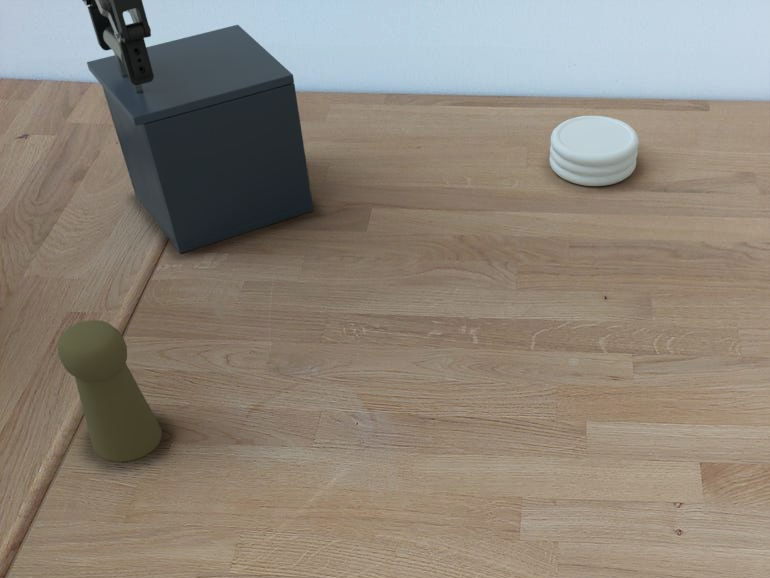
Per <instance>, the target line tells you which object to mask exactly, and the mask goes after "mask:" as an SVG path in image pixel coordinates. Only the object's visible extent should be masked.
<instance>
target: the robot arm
mask: <svg viewBox="0 0 770 578" xmlns="http://www.w3.org/2000/svg"><path fill="white" fill-rule="evenodd" d="M81 1H82V2H83V3H84V5H85V6H87V10H88V13H89V17H90V20H91V24H92V27H93V31H94V33H95V36H96V40H97V43H98V45H99V47H100V48H101V49H102V50H103V51H110V50H111V51H112V49H111V48H110V47H109V46H108V45H107V44H106V42H105V41H104V38H103V33H104V31H105V29H106V28H107V27H109V26H112V28H113V30H114V34H115V37H116V39H117V40H118V43H119V47H120V50H121V54H122V57H123V61H124V64H125V68H126V71H127V75H128V78H129V80H130V81H131V82H132V84H134V85H140V84H144V83H148V82H151V81H152V80H153V78H154V75H153V71H152V67H151V63H150V60H149V56H148V52H147V48H146V47H147V45H146V40H145V39H146V38H147V39H148V38H150V37H151V36H152V33H151V32H152V30H151V27H150V25H149V21H148V17H147V13H146V9H145V7H144V3H143V0H81ZM124 12H127V13H129V16H130V18H131V21H132V23H129V24H126V21H125V17H124Z"/></svg>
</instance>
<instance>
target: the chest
mask: <svg viewBox="0 0 770 578" xmlns="http://www.w3.org/2000/svg"><path fill="white" fill-rule="evenodd" d="M101 86H102V85H101ZM102 91H103V93H104V97H105V100H106V103H107V107H108V109H109V110H108V111H109V113H110V117H111V119H112V123H113V127H114V129H115V132H116V136H117V139H118V142H119V147H120V150H121V152H122V156H123V159H124V162H125V166H126V169H127V172H128V175H129V178H130V182H131V186H132V189H133V192H134V195H135V197H136V198H137V199H138V201H139V202H140V203H141V205H143V207H144V209H146V211H147V213H148V214H149V215H150V217H151V218H152V219H153V220H154V221H155V223H156V225H158V227H159V228H160V229H161V230H162V232H163V233H164V235H165V236H166V237H167V238H168V240H169V241H170V242H171V244H172V245H173V246H174V248H175V249H176V250H177V252H178V253H179V254H183V253H187V252H189V251H192V250H196V249H199V248H202V247H206V246H208V245H211V244H214V243H217V242H221V241H223V240H227V239H230V238H233V237H236V236H239V235H243V234H245V233H249V232H252V231H255V230H258V229H261V228H264V227H267V226H270V225H273V224H277V223H281V222H282V221H286V220H290V219H292V218H295V217H299V216H302V215H305V214H307V213H311V212H313V211H314V205H313V197H312V190H311V184H310V178H309V171H308V165H307V158H306V152H305V151H306V150H305V144H304V138H303V131H302V127H301V126H302V124H301V117H300V112H299V111H300V110H299V105H298V98H297V91H296V86H295V82H294V83H291V84H288V85H284V86H281V87H277V88H273V89H270V90H266V91H262V92H259V93H255V94H251V95H248V96H244V97H240V98H237V99H233V100H229V101H226V102H222V103H218V104H215V105H211V106H208V107H204V108H200V109H197V110H193V111H189V112H186V113H182V114H178V115H175V116H171V117H167V118H164V119H160V120H156V121H153V122H149V123H146V124H142V125H138V126H135V125H134V123H133V122H132V121H131V120H130V119H129V117H128V116H127V115H126V114H125V113H124V111H123V110H122V109H121V108H120V107H119V105H118V104H117V103H116V102H115V101H114V99H113V98H112V97H111V96H110V94H109V93H108V92H107V91H106V90H105V88H104V87H103V86H102Z"/></svg>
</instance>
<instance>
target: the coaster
mask: <svg viewBox="0 0 770 578" xmlns="http://www.w3.org/2000/svg"><path fill="white" fill-rule="evenodd" d="M550 135H551V136H550V147H549V153H550V154H549V164H550V167H551V170H552V171H553V172H554V173H555V174H556V175H557V176H559V177H560V178H561V179H563V180H565V181H567V182H569V183H572V184H576V185H580V186H586V187H603V186H610V185H615V184H618V183H619V182H622V181H624V180H626V179H627V178H629V177H630V176H631V175H632V174H633V173H634V171H635V169H636V167H637V158H638V153H639V150H638V148H639V145H640V139H639V135H638V133H637V132H636V131H635V129H634V128H633V127H631V126H630V125H629V124H627V123H626V122H624V121H622V120H620V119H617V118H614V117H609V116H604V115H580V116H575V117H572V118H569V119H567V120H565V121H563V122H561V123H560V124H558V125H557V126H556V127H555V128H554V129H553V131H552V132H551V134H550Z"/></svg>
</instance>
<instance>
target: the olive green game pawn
mask: <svg viewBox="0 0 770 578" xmlns="http://www.w3.org/2000/svg"><path fill="white" fill-rule="evenodd" d="M57 356H58V357H59V359H60V361H61V364H62V366H63V368H64V369H65V371H66V372H67V373H69V374H70V375H71V376H72V377H74V379H75V383H76V387H77V391H78V394H79V398H80V403H81V407H82V410H83V415H84V418H85V423H86V426H87V431H88V435H89V439H90V443H91V447H92V449H93V451H94V453H95V454H96V455H97V456H99V457H100V458H101V459H102V460H103V459H104V460H107V461H109V462H116V463H123V462H132V461H135V460H138V459H141V458H144V457H145V456H147V455H148V454H150V453H152V452H153V451H154V450H155V449H156V448H157V447H158V446H159V444H160V443H161V440H162V437H163V430H162V428H161V426H160V424H159V422H158V419H157V418H156V416H155V414H154V412H153V410H152V409H151V407H150V405H149V403H148V401H147V400H146V398H145V396H144V394H143V392H142V391H141V388H140V387H139V385H138V384H137V381H136V379H135V377H134V376H133V374H132V372H131V370H130V369H129V366H128V365H127V360H128V346H127V343H126V340H125V338H124V337H123V335H122V333H121V332H120V331H119V329H118V328H116V327H115V326H113V325H112V324H110V323H109V322H107V321H104V320H96V319H91V320H83V321H80V322H76V323H74V324H73V325H70V326H69V327H67V328H66V329H65V330H64V331H62V333H61V335H60V336H59V339H58V342H57Z"/></svg>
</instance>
